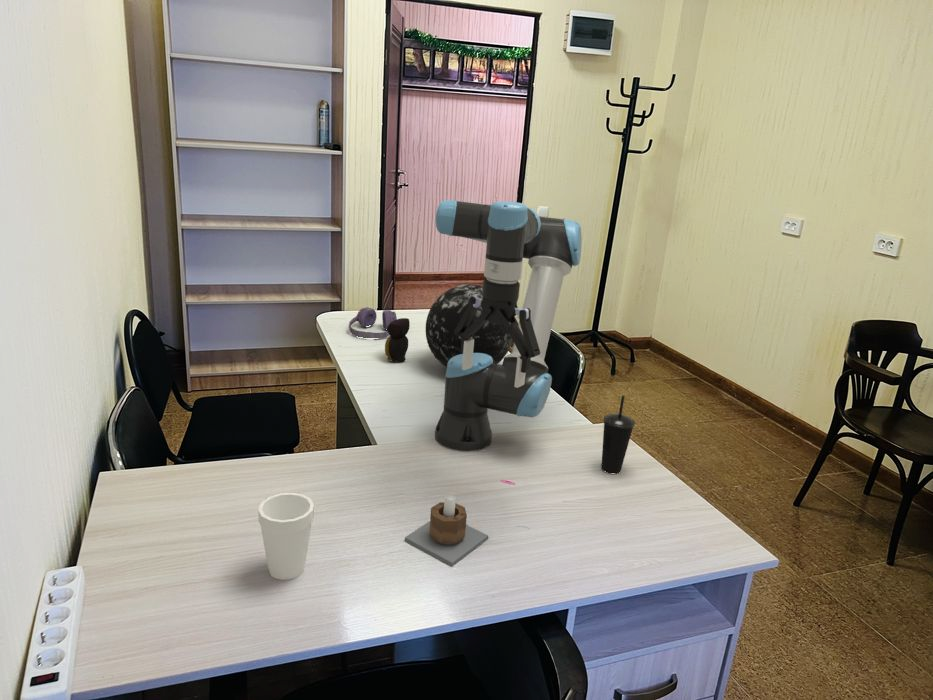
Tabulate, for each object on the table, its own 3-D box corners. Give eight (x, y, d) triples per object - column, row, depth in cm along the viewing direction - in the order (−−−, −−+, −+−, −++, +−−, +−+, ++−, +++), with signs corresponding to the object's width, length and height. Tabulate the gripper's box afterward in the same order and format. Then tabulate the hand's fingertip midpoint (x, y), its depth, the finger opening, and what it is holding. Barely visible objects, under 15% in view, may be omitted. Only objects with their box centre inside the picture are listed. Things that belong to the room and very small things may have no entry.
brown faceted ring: (423, 533, 132) (424, 511, 131) (444, 519, 138) (445, 498, 136) (450, 547, 129) (451, 525, 127) (470, 532, 134) (472, 511, 132)
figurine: (395, 354, 237) (397, 314, 232) (412, 359, 234) (414, 318, 229) (379, 361, 229) (381, 320, 224) (396, 366, 226) (398, 324, 221)
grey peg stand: (404, 540, 132) (406, 498, 129) (442, 516, 142) (445, 476, 138) (452, 566, 126) (455, 522, 123) (488, 538, 135) (492, 497, 132)
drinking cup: (626, 479, 163) (640, 404, 157) (595, 474, 165) (607, 399, 158) (626, 465, 170) (638, 392, 164) (596, 460, 172) (607, 388, 165)
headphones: (358, 321, 270) (342, 342, 253) (358, 302, 267) (342, 323, 249) (402, 326, 268) (389, 348, 251) (402, 307, 264) (389, 329, 247)
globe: (466, 351, 246) (473, 272, 237) (527, 376, 227) (536, 290, 217) (405, 366, 226) (409, 280, 217) (465, 394, 207) (473, 301, 197)
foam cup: (266, 552, 125) (264, 492, 121) (316, 553, 126) (316, 493, 122) (255, 585, 116) (253, 521, 112) (309, 586, 117) (309, 522, 113)
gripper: (442, 270, 139) (436, 365, 146) (545, 294, 126) (533, 398, 132) (463, 266, 145) (456, 358, 152) (564, 289, 131) (551, 388, 138)
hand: (492, 377), depth 142 cm, fingers open, 13 cm apart
